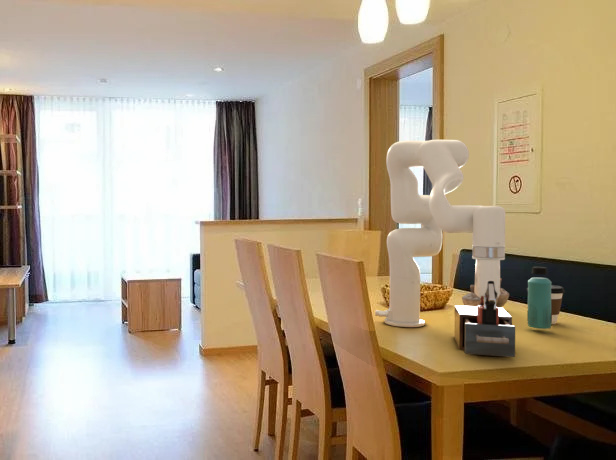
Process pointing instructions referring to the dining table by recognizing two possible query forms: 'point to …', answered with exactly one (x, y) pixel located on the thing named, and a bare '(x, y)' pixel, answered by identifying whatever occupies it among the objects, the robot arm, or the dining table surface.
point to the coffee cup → (556, 301)
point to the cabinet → (471, 313)
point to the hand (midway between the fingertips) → (487, 322)
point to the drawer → (488, 338)
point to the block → (479, 314)
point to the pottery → (474, 300)
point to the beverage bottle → (539, 300)
